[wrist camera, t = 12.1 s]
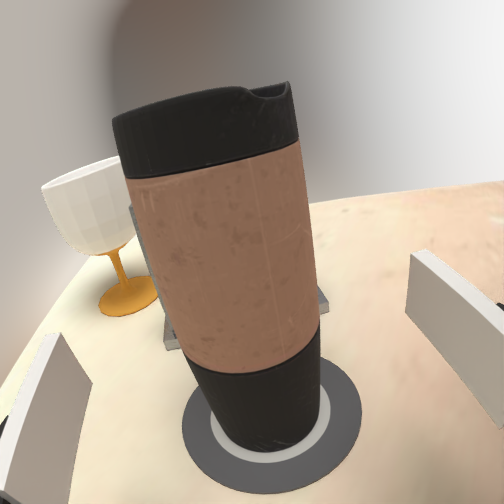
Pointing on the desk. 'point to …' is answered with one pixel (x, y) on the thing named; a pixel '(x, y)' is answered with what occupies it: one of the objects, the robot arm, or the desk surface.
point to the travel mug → (232, 252)
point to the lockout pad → (285, 461)
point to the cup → (100, 226)
